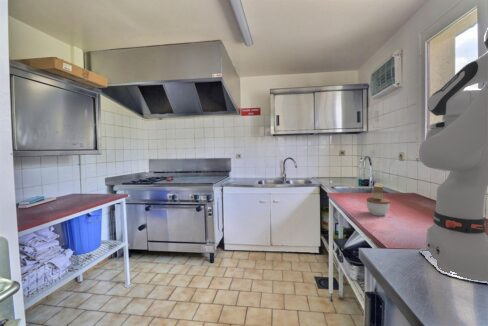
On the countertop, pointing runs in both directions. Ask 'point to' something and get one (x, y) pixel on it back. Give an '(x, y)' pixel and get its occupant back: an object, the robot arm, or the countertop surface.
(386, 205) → the lidded jar
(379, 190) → the beech block
